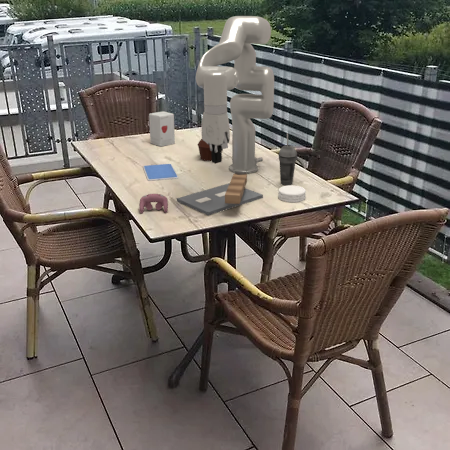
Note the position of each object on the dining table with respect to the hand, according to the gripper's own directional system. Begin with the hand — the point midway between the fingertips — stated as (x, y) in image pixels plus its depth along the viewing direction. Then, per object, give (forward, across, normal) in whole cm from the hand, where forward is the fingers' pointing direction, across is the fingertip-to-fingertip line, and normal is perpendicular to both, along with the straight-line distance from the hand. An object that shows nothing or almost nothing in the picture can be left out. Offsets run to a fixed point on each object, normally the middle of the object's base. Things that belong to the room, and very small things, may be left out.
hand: (216, 162), depth 191 cm
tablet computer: (+18, -44, +6) cm, 48 cm away
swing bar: (+12, +3, +7) cm, 14 cm away
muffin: (+18, -46, +35) cm, 61 cm away
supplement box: (+18, -82, +34) cm, 91 cm away
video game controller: (+16, -10, -20) cm, 28 cm away
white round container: (+17, +13, +25) cm, 33 cm away
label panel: (+16, -3, +4) cm, 17 cm away
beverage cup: (+17, +1, +35) cm, 39 cm away
